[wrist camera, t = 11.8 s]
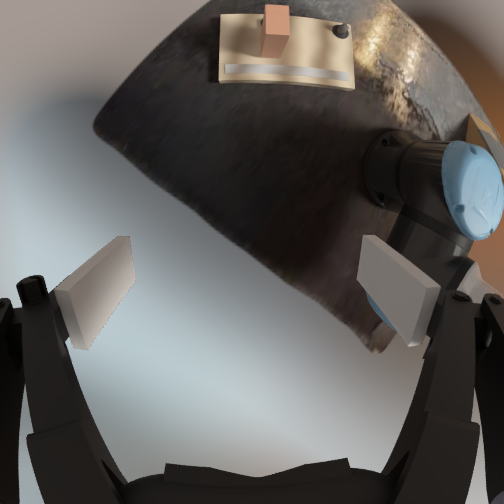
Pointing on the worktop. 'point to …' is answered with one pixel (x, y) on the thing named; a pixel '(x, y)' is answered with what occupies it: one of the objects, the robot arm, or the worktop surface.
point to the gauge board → (287, 53)
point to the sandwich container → (485, 141)
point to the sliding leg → (274, 30)
